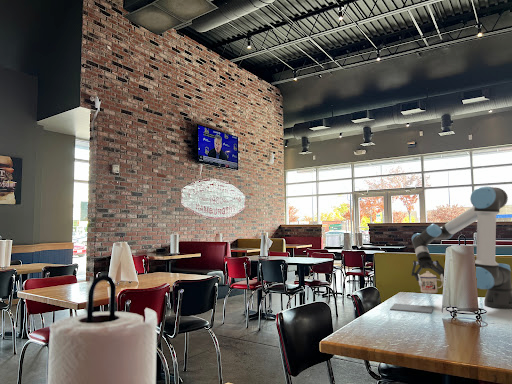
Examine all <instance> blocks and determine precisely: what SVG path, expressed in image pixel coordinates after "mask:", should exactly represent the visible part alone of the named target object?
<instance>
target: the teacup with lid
mask: <svg viewBox="0 0 512 384" xmlns="http://www.w3.org/2000/svg"><path fill="white" fill-rule="evenodd" d="M419 275H420V278H421V282H422V285H421V286H420V285H419V287H420V292H421V293H424V294H437V293H438V289H440V288H443V287H444V286H443V281H442V280H441V278H438V276H437V275H436V274H433V273H432V272H430V271H429V270H426V271H425V272H423V273H422V274H419ZM437 281H439V282H441V284H440V286H438V282H437Z"/></svg>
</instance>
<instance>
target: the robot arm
mask: <svg viewBox="0 0 512 384" xmlns="http://www.w3.org/2000/svg"><path fill="white" fill-rule="evenodd" d="M469 199H470V203H471V204H472V207H470V208H469V209H466V210H464V212H462V213H460V214H459V215H457V216H456V217H454V218H453V219H451V220H450V221H448V222H447V223H445V224H443V225H441V226H439V225H438V224H435V223H431V224H430V225H429V226H427V227H426V228H425V229H424V230H422V232H421V233H418V232H417V233H414V234H413V235H412V236H411V243H412V247H413V248H414V252H415V255H416V260H413V262H412V265H413V266H412V271H411V274H410V275H411V276H414V278H415V280H416V281H418V285H419V287H420V286H421V285H422V282H421V278H420V275H421V274H420V272H421V271H422V270H423V269H424V270H425V269H430V270H431V271H432V270H433V271H434V272H435V273H436V274H438V275H439V276H440V278H439V279H440V280H442V281H444V269H445V267H443V266H442V265H441V264H440V262H439V261H438V260H437V259H436V260H435V261H434V260H432V257H431V254H430V251H429V248H428V245H430V244H431V243H432V242H433V241H437V240H449V239H451V238H452V237H453V235H455V234H456V233H457V232H460V231H461V230H464V228H466V227H469V225H471V224H473V223H475V222H477V223H476V259H475V260H474V261H475V266H476V278H477V287H476V288H477V289H480V290H486V293H485V296H484V306H487V307H491V308H495V309H508V310H509V309H512V270H511V266H510V264H506V263H500V262H499V263H498V262H497V261H496V246H497V245H496V240H497V239H496V238H497V237H496V236H497V235H496V233H497V232H496V231H497V230H496V229H497V215H499V214H500V211H501V209H502V208H504V207H505V206H506V205H507V202H508V200H509V199H508V194H507V193H506V191H505V190H504V189H502V188H500V187H493V186H492V187H491V186H480V187H477V188H476V189H474V190H473V191H472V193H471V194H470V198H469ZM417 266H419V267H418V268H417ZM416 268H417V270H416ZM415 270H416V271H415Z"/></svg>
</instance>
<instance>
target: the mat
mask: <svg viewBox="0 0 512 384" xmlns="http://www.w3.org/2000/svg"><path fill="white" fill-rule="evenodd" d="M389 311H401V312H409V313H411V312H412V313H422V314H423V313H424V314H432V312H433V311H434V306H432V305H421V304H406V303H395V302H394V304H393V305H392V306H391V307H390V308H389Z"/></svg>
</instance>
